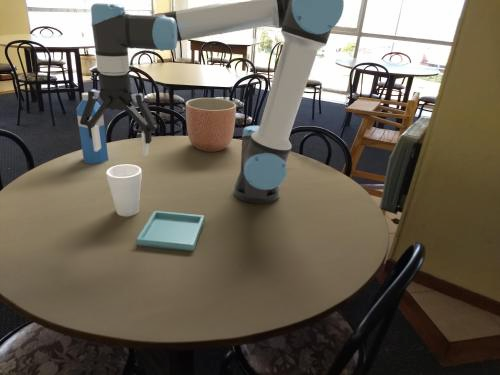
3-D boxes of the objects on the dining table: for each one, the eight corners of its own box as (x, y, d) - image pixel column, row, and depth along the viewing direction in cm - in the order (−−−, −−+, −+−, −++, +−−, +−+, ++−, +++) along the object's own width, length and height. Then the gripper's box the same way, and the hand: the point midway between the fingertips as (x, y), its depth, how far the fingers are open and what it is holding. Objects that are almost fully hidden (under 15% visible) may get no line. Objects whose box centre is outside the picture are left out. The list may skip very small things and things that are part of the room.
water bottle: (103, 164, 139) (95, 97, 128) (78, 163, 139) (68, 95, 128) (112, 155, 148) (105, 91, 137) (88, 153, 148) (80, 90, 137)
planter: (179, 152, 155) (178, 107, 147) (194, 136, 174) (194, 95, 165) (228, 158, 153) (230, 112, 144) (238, 142, 171) (240, 100, 163)
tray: (204, 221, 108) (204, 215, 107) (193, 251, 95) (193, 244, 94) (155, 216, 109) (154, 210, 108) (137, 245, 96) (136, 239, 95)
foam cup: (134, 221, 106) (131, 180, 100) (105, 216, 108) (99, 175, 102) (149, 205, 114) (147, 166, 109) (121, 201, 116) (117, 162, 110)
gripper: (167, 73, 96) (170, 151, 106) (73, 66, 97) (84, 143, 107) (158, 78, 89) (162, 161, 99) (57, 71, 91) (70, 152, 100)
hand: (121, 152), depth 103 cm, fingers open, 13 cm apart
